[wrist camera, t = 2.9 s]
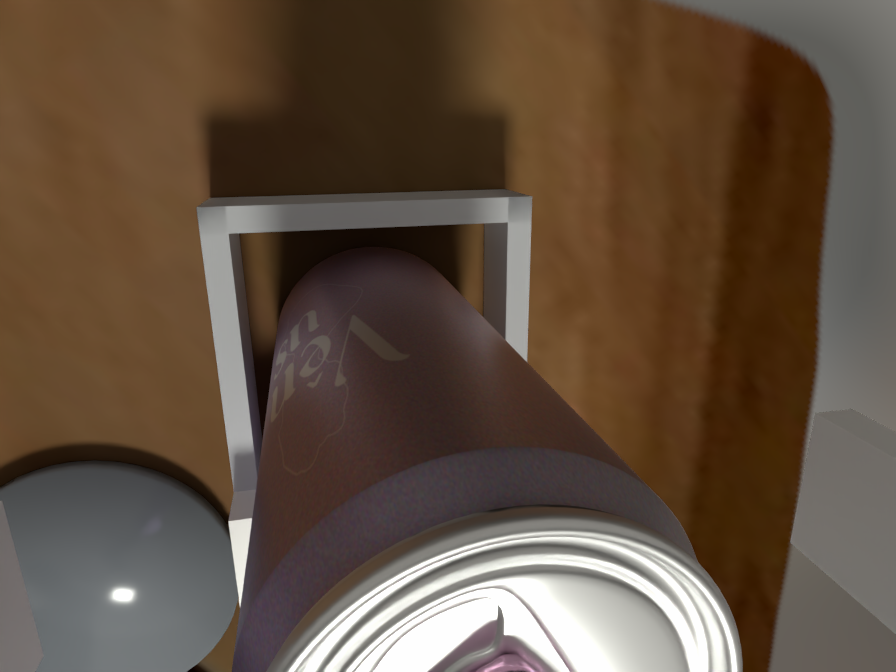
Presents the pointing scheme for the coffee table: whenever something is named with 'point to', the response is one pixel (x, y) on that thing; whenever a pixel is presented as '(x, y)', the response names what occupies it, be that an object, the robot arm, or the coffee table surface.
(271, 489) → the beverage can
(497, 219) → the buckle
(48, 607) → the coaster
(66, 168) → the coffee table surface
